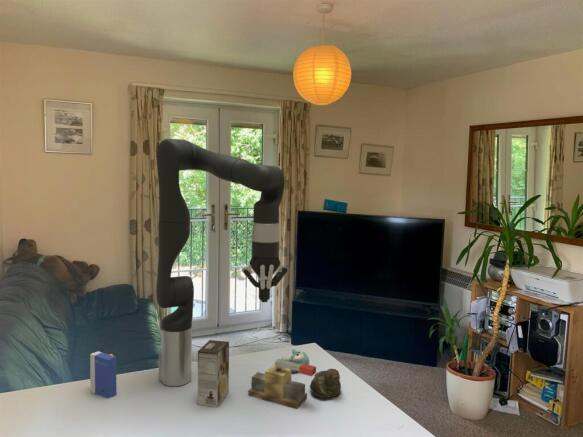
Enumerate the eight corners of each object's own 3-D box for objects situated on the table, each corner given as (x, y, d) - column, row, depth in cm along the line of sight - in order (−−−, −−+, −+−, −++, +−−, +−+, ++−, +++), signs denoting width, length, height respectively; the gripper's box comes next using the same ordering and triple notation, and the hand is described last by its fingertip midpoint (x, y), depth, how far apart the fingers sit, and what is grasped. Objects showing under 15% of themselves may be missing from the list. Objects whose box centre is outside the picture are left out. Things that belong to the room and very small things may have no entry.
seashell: (315, 387, 127) (349, 384, 129) (307, 351, 136) (339, 349, 138) (310, 407, 134) (342, 404, 136) (303, 372, 143) (333, 370, 145)
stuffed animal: (277, 344, 159) (309, 342, 156) (280, 364, 159) (313, 362, 157) (269, 356, 148) (304, 354, 146) (272, 377, 149) (307, 375, 146)
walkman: (116, 394, 131) (116, 355, 130) (108, 398, 129) (108, 358, 127) (98, 388, 135) (97, 349, 133) (90, 391, 132) (89, 352, 131)
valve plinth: (248, 395, 133) (248, 368, 132) (259, 385, 139) (260, 360, 138) (297, 408, 126) (298, 380, 125) (306, 398, 132) (307, 371, 132)
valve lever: (273, 370, 131) (274, 360, 131) (278, 367, 133) (278, 357, 133) (311, 380, 125) (312, 370, 125) (315, 376, 128) (316, 366, 127)
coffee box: (209, 389, 136) (209, 338, 134) (229, 392, 134) (229, 341, 133) (196, 405, 127) (197, 350, 125) (218, 408, 125) (218, 353, 124)
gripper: (245, 241, 115) (243, 307, 117) (293, 240, 120) (291, 303, 121) (238, 237, 122) (237, 299, 124) (284, 236, 127) (282, 296, 128)
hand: (264, 301), depth 123 cm, fingers closed
